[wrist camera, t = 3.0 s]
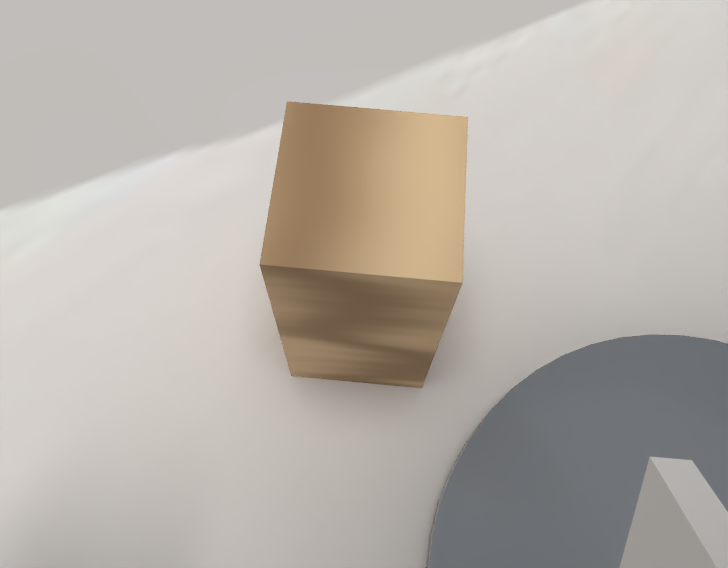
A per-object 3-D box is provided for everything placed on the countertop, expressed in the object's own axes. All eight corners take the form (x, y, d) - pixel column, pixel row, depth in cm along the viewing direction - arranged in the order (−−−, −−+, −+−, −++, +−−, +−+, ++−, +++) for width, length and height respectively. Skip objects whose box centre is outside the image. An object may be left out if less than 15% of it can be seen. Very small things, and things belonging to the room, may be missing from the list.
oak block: (427, 269, 28) (467, 117, 18) (421, 387, 25) (462, 282, 16) (307, 258, 28) (286, 101, 18) (291, 375, 26) (259, 264, 16)
